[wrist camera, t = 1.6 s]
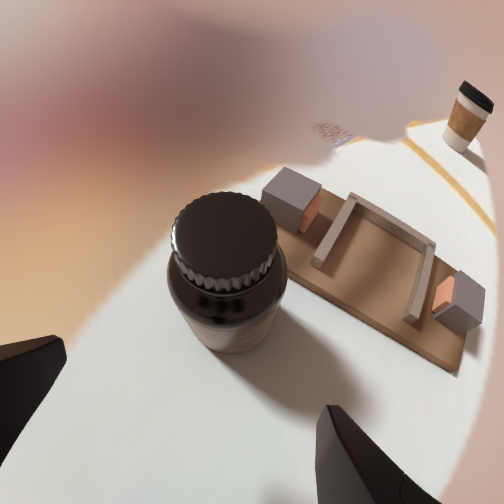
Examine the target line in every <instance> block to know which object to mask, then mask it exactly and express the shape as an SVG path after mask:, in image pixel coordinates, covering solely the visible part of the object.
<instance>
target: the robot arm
mask: <svg viewBox="0 0 504 504" xmlns="http://www.w3.org/2000/svg"><path fill="white" fill-rule="evenodd" d="M66 361H67V355H66V351H65V346H64V342H63V340H62V339H61V338H60V337H58V336H56V335H50V336H45V337H40V338H36V339H30V340H26V341H21V342H16V343H11V344H6V345H1V346H0V467H1V465H2V463H3V461H4V460H5V458H6V456H7V454H8V453H9V451H10V449H11V448H12V446H13V445H14V443H15V441H16V440H17V438H18V437H19V435H20V433H21V432H22V430H23V429H24V427H25V426H26V424H27V423H28V421H29V420H30V418H31V417H32V415H33V414H34V412H35V411H36V409H37V408H38V407H39V405H40V404H41V402H42V401H43V399H44V398H45V397H46V395H47V394H48V392H49V391H50V389H51V387H52V386H53V384H54V382H55V380H56V379H57V377H58V375H59V373H60V372H61V370H62V368H63V367H64V365H65V363H66ZM315 472H316V484H317V496H318V504H442V503H440V502H439V501H437V500H436V499H434V498H433V497H432V496H430V495H429V494H428V493H427V492H425V491H424V490H423V489H422V488H421V487H419V486H418V485H417V484H416V483H415V482H414V481H413V480H412V479H411V478H410V477H409V476H408V475H407V474H404V472H403V471H402V470H401V469H400V468H399V467H398V466H397V465H396V464H395V463H394V462H393V461H392V460H391V459H390V458H389V457H388V456H387V455H386V454H385V453H384V452H383V451H382V450H381V449H380V448H379V447H378V446H377V445H376V444H375V443H374V442H373V441H372V439H371V438H370V437H369V436H368V435H367V434H366V433H365V432H364V431H363V430H362V429H361V428H360V427H359V426H358V425H357V424H356V423H355V422H354V421H353V420H352V419H351V417H350V416H349V415H348V414H347V413H346V412H345V411H344V410H343V409H342V408H341V407H340V406H339V405H326V406H325V407H324V409H323V411H322V413H321V416H320V418H319V420H318V422H317V427H316V457H315Z"/></svg>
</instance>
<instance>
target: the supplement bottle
mask: <svg viewBox="0 0 504 504" xmlns="http://www.w3.org/2000/svg"><path fill="white" fill-rule="evenodd" d="M171 240H172V242H171V247H172V249H173V251H172V253H171V256H170V259H169V262H168V267H167V283H168V287H169V291H170V294H171V296H172V298H173V300H174V302H175V304H176V306H177V307H178V309H179V311H180V312H181V314H182V315H183V317H184V319H185V320H186V322H187V323H188V325H189V326H190V328H191V330H192V331H193V333H194V334H195V335H196V337H197V338H198V339H199V340H200V341H201V342H202V343H203V344H204V345H205V346H207V347H208V348H210V349H212V350H214V351H217V352H220V353H226V354H236V353H242V352H245V351H248V350H250V349H252V348H254V347H255V346H257V345H258V344H259V343H260V342H261V341H262V340H263V339H264V338H265V336H266V335H267V333H268V332H269V330H270V328H271V325H272V323H273V321H274V318H275V316H276V313H277V311H278V308H279V305H280V303H281V300H282V298H283V295H284V292H285V289H286V285H287V279H288V268H287V262H286V258H285V256H284V253H283V251H282V249H281V247H280V246H279V244H278V243H277V241H278V235H277V226H276V224H275V220H274V218H273V217H272V216H271V214H270V211H269V210H267V209H266V208H265V206H264V205H263V204H261V203H259V202H258V200H256V199H253V198H251V197H250V196H248V195H243V194H241V193H234V192H231V191H230V192H222V191H221V192H218V193H210V194H208V195H203V196H201V197H200V198H198V199H195V200H194V201H193V202H192V203H190V204H188V205H186V207H185V209H183V210H181V211H180V214H179V216H177V217H176V218H175V223H174V224H173V226H172V233H171Z"/></svg>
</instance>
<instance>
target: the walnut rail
mask: <svg viewBox="0 0 504 504" xmlns="http://www.w3.org/2000/svg"><path fill="white" fill-rule="evenodd" d="M321 186H322V185H321V184H319V183H317V182H315V181H313V180H311V179H309V178H307V177H305V176H303V175H301V174H299V173H297V172H295V171H293V170H291V169H289V168H286V167H284V168H283V169H282V170H281V171H280V172H279V173H278V174H277V175H276V176H275V177H274V178H273V179H272V180H271V181H270V182H269V183H268V184H267V185H266V186H265V187H264V188H263V190H262V197H261V200H260V201H259V203H261V204H263V205H264V206H265V208H266V209H267V210H269V211H270V214H271V216H272V217H273V218H274V220H275V224H276V226H277V235H278V241H277V243H278V244H279V246H280V247H281V249H282V251H283V253H284V256H285V258H286V262H287V268H288V277H290V278H291V279H293V280H295V281H296V282H298V283H300V284H301V285H303V286H305V287H306V288H308V289H310V290H311V291H313V292H315V293H317V294H318V295H320V296H322V297H323V298H325V299H327V300H328V301H330V302H332V303H333V304H335V305H337V306H338V307H340V308H342V309H343V310H345V311H347V312H349V313H350V314H352V315H354V316H355V317H357V318H359V319H360V320H362V321H364V322H365V323H367V324H369V325H371V326H372V327H374V328H376V329H377V330H379V331H381V332H382V333H384V334H386V335H387V336H389V337H391V338H393V339H394V340H396V341H398V342H399V343H401V344H403V345H404V346H406V347H408V348H409V349H411V350H413V351H415V352H416V353H418V354H420V355H421V356H423V357H425V358H426V359H428V360H430V361H432V362H433V363H435V364H437V365H438V366H440V367H442V368H443V369H445V370H447V371H449V372H453V371H456V370H458V367H459V363H460V359H461V355H462V351H463V347H464V342H465V337H466V332H467V331H469V330H470V329H472V328H474V327H476V326H478V325H479V324H481V323H482V318H483V310H484V300H485V289H484V288H483V287H482V286H481V285H479V284H478V283H477V282H475V281H474V280H473V279H472V278H470V277H469V276H468V275H466V274H465V273H464V272H462V271H461V270H460V271H459V272H458V271H457V270H455V269H454V268H452V267H451V266H450V265H448V264H447V263H445V262H444V261H443V260H441V259H440V258H438V257H437V256H435V255H434V253H435V247H436V243H434V242H433V241H431V240H430V239H428V238H427V237H425V236H424V235H422V234H421V233H419V232H418V231H416V230H415V229H413V228H412V227H410V226H409V225H407V224H405V223H404V222H402V221H401V220H399V219H397V218H396V217H394V216H392V215H391V214H389V213H388V212H386V211H384V210H382V209H381V208H379V207H377V206H376V205H374V204H372V203H370V202H369V201H367V200H365V199H363V198H362V197H360V196H358V195H356V194H354V193H353V192H351V193H350V194H349V196H348V198H347V200H344V199H342V198H340V197H338V196H336V195H335V194H333V193H331V192H329V191H327V190H325V189H323V188H321Z"/></svg>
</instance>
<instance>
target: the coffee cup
mask: <svg viewBox="0 0 504 504" xmlns="http://www.w3.org/2000/svg"><path fill="white" fill-rule="evenodd" d="M459 91H460V92H459V95H458V98H456V101H455V104H454V107H453V110H452V113H451V116H450V119H449V121H448V125H447V127H446V129H445V132H444V134H443V139H444V141H445V142H446V143H447V144H448V145H449V146H450V147H451V148H452V149H454V150H455V151H457V152H459V153H463V152H464V151H465V150H466V148H467V147H468V145H469V144H470V143H471V141H472V140H473V139H474V137H475V136H476V135H477V133H478V132H479V130H480V129H481V127H482V126H483V124H484V123H485V122H486V118H487V116H488V115H489V114H491V113H492V111H493V106H494V103H493V102H492V101H491V100H490V99H489V98H488V97H487V96H485V95H484V94H483V93H481V92H480V91H479V90H477V89H476V88H475V87H473V86H472V85H470V84H469V83H468V82H466V81H464V82H463V83H462V85H461V86H460V88H459Z"/></svg>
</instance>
